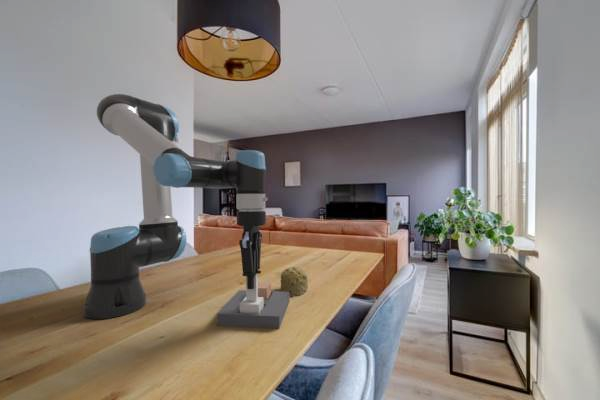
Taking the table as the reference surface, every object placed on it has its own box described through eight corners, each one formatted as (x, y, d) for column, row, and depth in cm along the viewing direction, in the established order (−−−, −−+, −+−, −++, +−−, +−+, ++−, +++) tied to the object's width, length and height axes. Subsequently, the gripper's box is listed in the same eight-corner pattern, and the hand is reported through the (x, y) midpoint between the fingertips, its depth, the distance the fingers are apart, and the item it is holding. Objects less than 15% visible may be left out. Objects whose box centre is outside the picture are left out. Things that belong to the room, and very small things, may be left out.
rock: (276, 301, 92) (270, 280, 87) (290, 277, 100) (285, 257, 95) (301, 308, 88) (296, 287, 83) (313, 282, 96) (310, 262, 91)
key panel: (216, 325, 67) (216, 313, 67) (239, 299, 84) (239, 290, 84) (279, 328, 65) (279, 316, 65) (289, 301, 82) (289, 291, 82)
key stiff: (250, 299, 77) (250, 287, 77) (254, 293, 82) (254, 282, 82) (267, 300, 76) (267, 288, 76) (270, 294, 81) (270, 282, 81)
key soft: (239, 317, 68) (239, 303, 68) (245, 309, 73) (245, 296, 73) (258, 318, 67) (258, 304, 67) (263, 310, 72) (263, 297, 72)
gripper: (258, 211, 63) (259, 310, 63) (270, 209, 76) (271, 291, 76) (228, 211, 64) (229, 309, 64) (245, 209, 77) (245, 290, 77)
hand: (252, 299), depth 70 cm, fingers closed
